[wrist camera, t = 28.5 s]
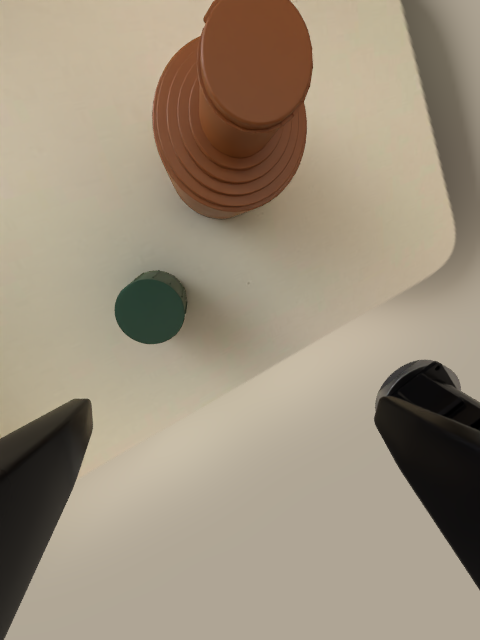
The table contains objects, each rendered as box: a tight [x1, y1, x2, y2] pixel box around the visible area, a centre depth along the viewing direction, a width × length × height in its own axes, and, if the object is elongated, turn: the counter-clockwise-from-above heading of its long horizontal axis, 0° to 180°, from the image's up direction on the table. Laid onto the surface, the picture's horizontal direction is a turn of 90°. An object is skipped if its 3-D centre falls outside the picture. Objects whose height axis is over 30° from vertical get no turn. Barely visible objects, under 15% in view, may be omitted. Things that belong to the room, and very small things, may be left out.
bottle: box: [152, 0, 313, 219], centre depth 13 cm, size 6×6×12 cm
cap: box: [115, 270, 187, 344], centre depth 18 cm, size 4×4×4 cm
